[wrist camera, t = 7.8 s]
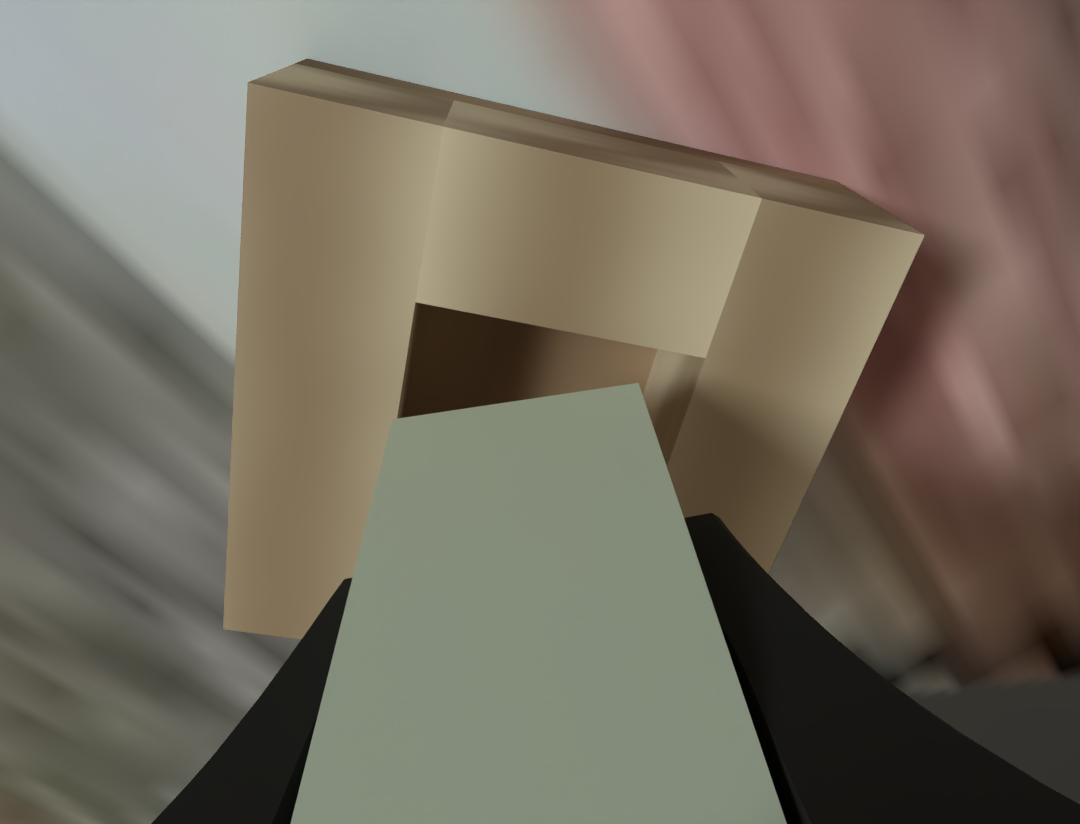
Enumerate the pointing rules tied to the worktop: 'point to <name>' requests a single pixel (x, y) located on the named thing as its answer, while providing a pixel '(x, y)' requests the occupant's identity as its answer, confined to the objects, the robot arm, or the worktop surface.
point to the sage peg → (531, 635)
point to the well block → (522, 309)
